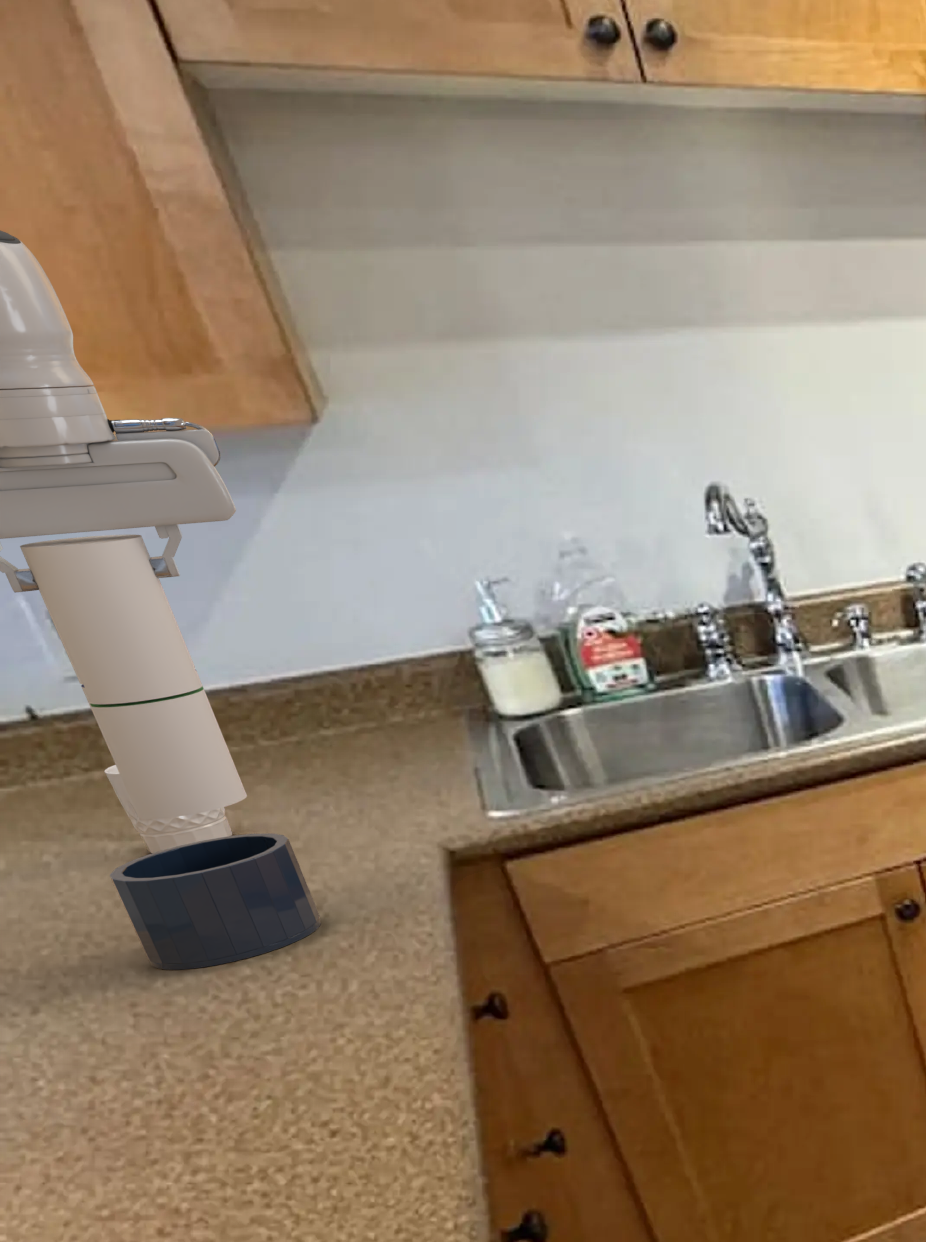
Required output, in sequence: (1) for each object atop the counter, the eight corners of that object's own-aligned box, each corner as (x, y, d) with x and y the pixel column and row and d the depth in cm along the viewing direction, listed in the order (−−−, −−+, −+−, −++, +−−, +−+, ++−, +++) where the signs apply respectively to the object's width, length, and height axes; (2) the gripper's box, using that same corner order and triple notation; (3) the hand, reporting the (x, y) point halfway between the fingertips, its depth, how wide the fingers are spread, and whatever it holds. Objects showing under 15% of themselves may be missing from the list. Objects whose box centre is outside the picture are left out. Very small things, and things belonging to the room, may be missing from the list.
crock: (112, 971, 121) (70, 882, 118) (237, 917, 132) (202, 834, 129) (239, 968, 121) (200, 879, 118) (354, 914, 132) (321, 831, 129)
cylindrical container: (238, 787, 129) (134, 532, 120) (254, 801, 125) (148, 538, 116) (131, 809, 123) (14, 543, 115) (145, 824, 119) (25, 550, 111)
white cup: (165, 860, 147) (129, 776, 143) (125, 852, 149) (87, 769, 146) (255, 835, 154) (222, 754, 150) (215, 827, 156) (181, 748, 153)
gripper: (206, 414, 121) (262, 563, 126) (-153, 430, 107) (-75, 596, 112) (206, 417, 117) (264, 571, 122) (-168, 433, 103) (-86, 606, 108)
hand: (99, 583), depth 117 cm, fingers closed on cylindrical container, 7 cm apart
